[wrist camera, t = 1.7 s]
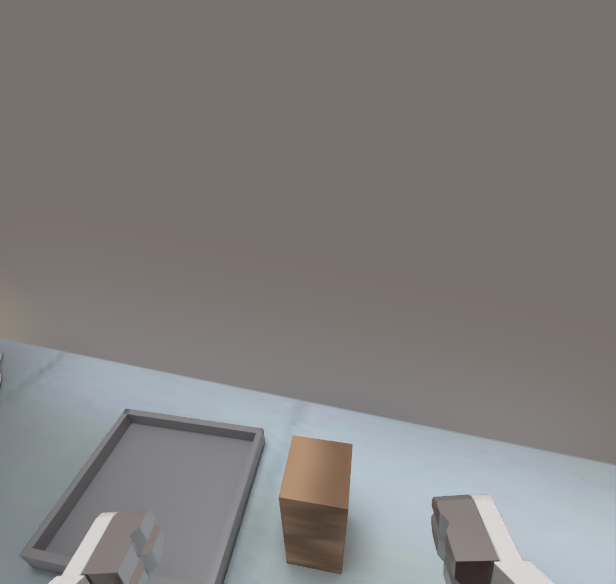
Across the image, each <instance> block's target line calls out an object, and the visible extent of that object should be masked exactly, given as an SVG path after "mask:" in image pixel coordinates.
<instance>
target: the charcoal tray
mask: <svg viewBox="0 0 616 584" xmlns="http://www.w3.org/2000/svg"><path fill="white" fill-rule="evenodd" d="M264 444H265V438H264V431H263V429H261V428H254V427H247V426H241V425H234V424H227V423H220V422H213V421H206V420H199V419H193V418H186V417H179V416H172V415H165V414H158V413H151V412H145V411H138V410H131V409H125V410H124V412H123V413H122V415H121V416H120V417H119V419H118V420H117V421H116V423H115V424H114V426H113V427H112V428H111V430H110V431H109V432H108V434H107V435H106V437H105V438H104V439H103V441H102V442H101V443H100V445H99V446H98V448H97V449H96V450H95V452H94V453H93V454H92V456H91V457H90V459H89V460H88V461H87V463H86V464H85V465H84V467H83V468H82V470H81V471H80V472H79V474H78V475H77V477H76V478H75V479H74V481H73V482H72V483H71V485H70V486H69V488H68V489H67V490H66V492H65V493H64V494H63V496H62V497H61V499H60V500H59V501H58V503H57V504H56V505H55V507H54V508H53V510H52V511H51V512H50V514H49V515H48V516H47V518H46V519H45V521H44V522H43V523H42V525H41V526H40V527H39V529H38V530H37V532H36V533H35V534H34V536H33V537H32V538H31V540H30V541H29V543H28V544H27V545H26V547H25V548H24V549H23V551H22V552H21V554H20V555H19V556H20V557H22V558H23V559H24V560H25V561H26V562H28V563H29V564H30V565H31V566H32V567H35V568H39V569H43V570H48V571H52V572H56V573H61V574H63V572H64V571H65V569H66V567H67V566H68V564H69V562H70V561H71V559H72V557H73V556H74V554H75V552H76V551H77V549H78V547H79V546H80V544H81V542H82V541H83V539H84V537H85V536H86V534H87V532H88V531H89V529H90V527H91V526H92V524H93V522H94V521H95V519H96V518H97V517H98V516H99V515H100V514H101V513H107V512H136V511H154V513H155V515H156V517H157V519H156V522H155V524H156V525H158V526H159V527H161V528H162V531H163V533H164V547H163V553H162V556H161V559H160V562H159V564H158V566H157V567H156V568H155V569H154V570H153V571H152V572H151V573H150V579H151V584H223V582H224V578H225V575H226V572H227V568H228V565H229V562H230V558H231V555H232V552H233V548H234V545H235V541H236V538H237V535H238V531H239V528H240V525H241V521H242V518H243V515H244V511H245V508H246V505H247V501H248V498H249V494H250V491H251V488H252V484H253V481H254V478H255V474H256V471H257V468H258V464H259V461H260V458H261V454H262V451H263V448H264Z"/></svg>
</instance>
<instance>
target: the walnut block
mask: <svg viewBox="0 0 616 584" xmlns="http://www.w3.org/2000/svg"><path fill="white" fill-rule="evenodd" d="M352 445H353V444H347V443H341V442H334V441H327V440H320V439H313V438H307V437H300V436H293V437H292V442H291V446H290V451H289V455H288V459H287V464H286V468H285V472H284V477H283V481H282V485H281V490H280V494H279V503H280V511H281V519H282V527H283V535H284V543H285V551H286V559H287V563H290V564H294V565H299V566H304V567H309V568H314V569H319V570H324V571H329V572H334V573H339V574H341V571H342V562H343V552H344V543H345V533H346V524H347V515H348V503H349V488H350V474H351V459H352Z"/></svg>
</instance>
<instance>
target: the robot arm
mask: <svg viewBox="0 0 616 584" xmlns="http://www.w3.org/2000/svg"><path fill="white" fill-rule="evenodd" d="M1 358H2V353H1V352H0V360H1ZM0 383H1V373H0ZM432 508H433V511H434V514H433V515H432V516H431V525H432V533H433V538H434V542H435V546H436V550H437V554H438V556H439V557H440V558H441V559H442V560H443V561H444V571H443V575H444V578H445V582H446V584H555V583H554V582H553V581H552V580H550V579H549V578H548V577H547V576H546V575H545V574H544V573H543V572H542V571H540V570H539V569H538V568H537V567H536V566H535V565H534V564H533V563H531V562H530V561H523V559H522V557H521V555H520V553H519V551H518V549H517V547H516V545H515V543H514V541H513V539H512V537H511V535H510V533H509V531H508V529H507V527H506V525H505V523H504V520H503V518H502V516H501V514H500V512H499V510H498V508H497V506H496V504H495V502H494V500H493V498H492V497H491V496H490V495H488V494H482V495H457V496H442V497H433V499H432ZM156 519H157V517H156V515H155V513H154V511H136V512H107V513H101V514H100V515H99V516H98V517H97V518H96V519H95V521H94V522H93V524H92V526H91V527H90V529H89V531H88V532H87V534H86V536H85V537H84V539H83V541H82V542H81V544H80V546H79V547H78V549H77V551H76V552H75V554H74V556H73V557H72V559H71V561H70V562H69V564H68V566H67V567H66V569H65V571H64V572H63V574H62V575H61V576H56V577H55V578H54V579H52V580H51V581H50V582H49V583H48V584H151V579H150V573H151V572H152V571H153V570H154V569H155V568H156V567H157V566H158V564H159V562H160V559H161V556H162V553H163V547H164V533H163V531H162V528H161V527H159V526H158V525H156V524H155V522H156Z"/></svg>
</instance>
